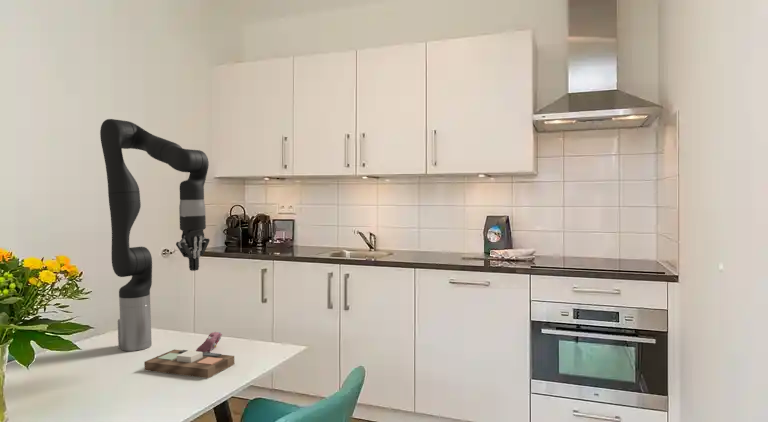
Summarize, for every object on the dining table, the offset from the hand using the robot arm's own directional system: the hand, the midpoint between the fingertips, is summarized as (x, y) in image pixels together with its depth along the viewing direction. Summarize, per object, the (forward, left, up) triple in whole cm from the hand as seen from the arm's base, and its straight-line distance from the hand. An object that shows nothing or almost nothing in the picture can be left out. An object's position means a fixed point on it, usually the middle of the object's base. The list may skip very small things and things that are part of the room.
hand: (194, 270), depth 159 cm
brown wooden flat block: (+5, -9, -27) cm, 29 cm away
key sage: (-2, -9, -27) cm, 28 cm away
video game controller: (0, +6, -27) cm, 28 cm away
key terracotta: (+12, -9, -27) cm, 31 cm away
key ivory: (+5, -9, -25) cm, 27 cm away
